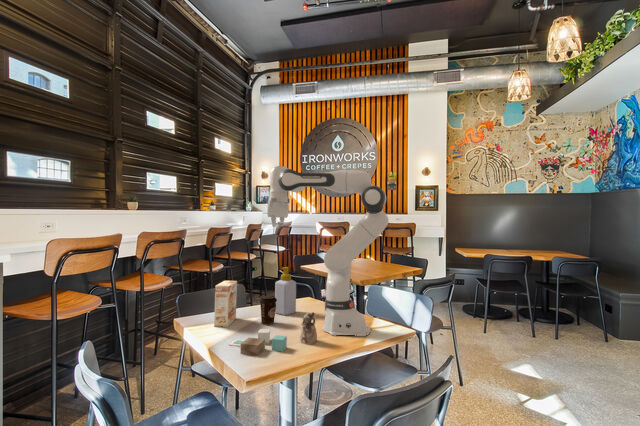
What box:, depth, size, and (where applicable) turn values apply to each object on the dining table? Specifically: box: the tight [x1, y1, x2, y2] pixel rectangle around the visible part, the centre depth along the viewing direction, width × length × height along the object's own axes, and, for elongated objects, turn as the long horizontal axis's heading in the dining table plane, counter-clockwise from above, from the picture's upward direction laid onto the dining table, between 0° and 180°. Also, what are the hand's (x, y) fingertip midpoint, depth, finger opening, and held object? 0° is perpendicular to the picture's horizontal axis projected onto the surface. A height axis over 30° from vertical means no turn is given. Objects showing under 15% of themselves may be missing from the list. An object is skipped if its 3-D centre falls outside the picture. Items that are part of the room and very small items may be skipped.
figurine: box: [299, 311, 318, 345], centre depth 141 cm, size 7×7×12 cm
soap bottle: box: [274, 266, 297, 316], centre depth 185 cm, size 9×9×25 cm
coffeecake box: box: [213, 280, 238, 328], centre depth 167 cm, size 15×7×20 cm, turn 179°
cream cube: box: [257, 328, 271, 344], centre depth 141 cm, size 4×4×4 cm
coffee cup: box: [259, 295, 277, 326], centre depth 166 cm, size 9×8×13 cm
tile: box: [228, 338, 246, 348], centre depth 138 cm, size 6×6×1 cm
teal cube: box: [271, 334, 288, 352], centre depth 133 cm, size 4×4×4 cm
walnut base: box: [240, 337, 266, 356], centre depth 130 cm, size 7×7×4 cm
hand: (277, 226), depth 166 cm, fingers open, 8 cm apart
